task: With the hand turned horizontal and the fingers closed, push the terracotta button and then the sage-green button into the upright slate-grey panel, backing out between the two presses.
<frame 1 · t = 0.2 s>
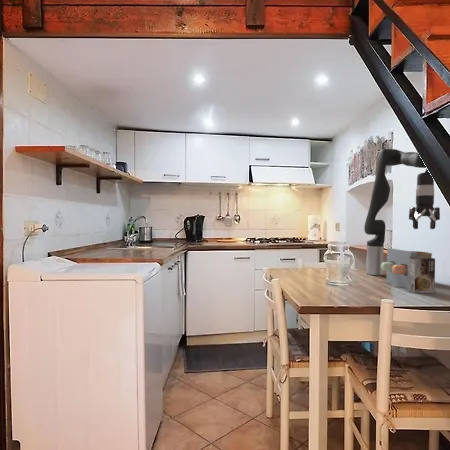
hand: (424, 229, 167), 29 cm above the table, tool pointing down, fingers open, 8 cm apart
terracotta button: (401, 269, 171), point 9 cm above the table, slide at 0.0 cm
plant pot: (415, 282, 189), on the table
button panel: (400, 285, 177), on the table
sage-green button: (389, 266, 181), point 9 cm above the table, slide at 0.0 cm
coffee box: (421, 292, 163), on the table
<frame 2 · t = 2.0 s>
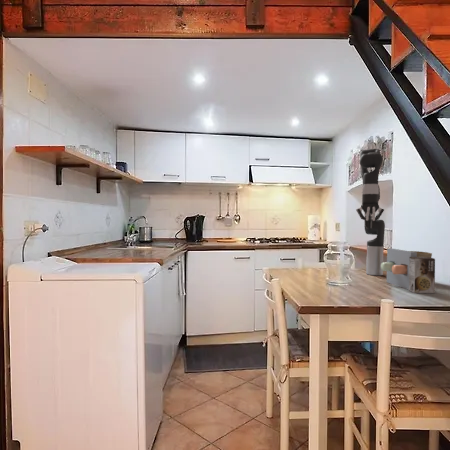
hand: (369, 228, 175), 29 cm above the table, tool pointing down, fingers closed
nothing on the table moved.
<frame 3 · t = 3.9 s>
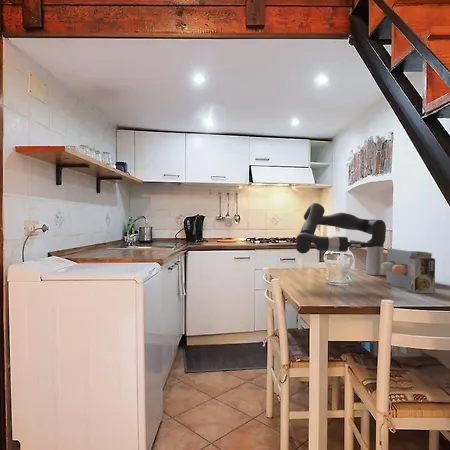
hand: (373, 245, 172), 21 cm above the table, tool horizontal, fingers closed
nothing on the table moved.
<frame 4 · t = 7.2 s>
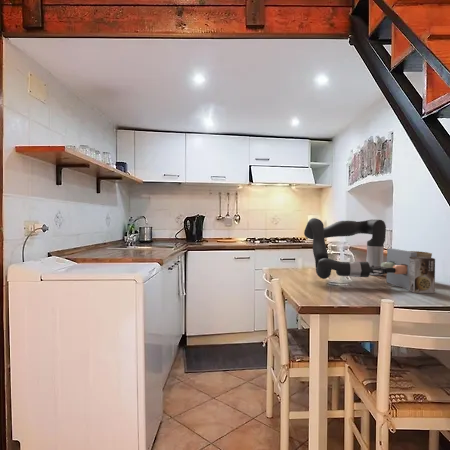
hand: (394, 270, 171), 9 cm above the table, tool horizontal, fingers closed
terracotta button: (402, 269, 171), point 9 cm above the table, slide at 0.5 cm, touching gripper
everything else where it was.
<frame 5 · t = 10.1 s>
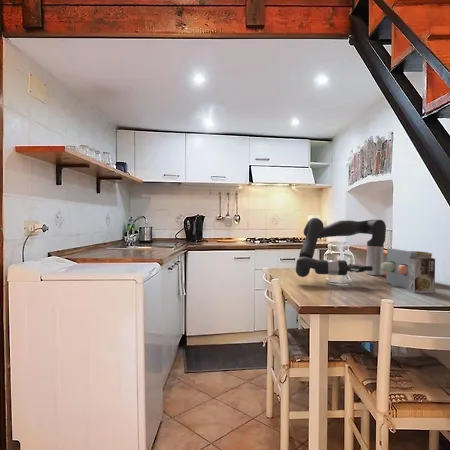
hand: (371, 268, 174), 9 cm above the table, tool horizontal, fingers closed
terracotta button: (407, 269, 172), point 9 cm above the table, slide at 3.1 cm
everything else where it was.
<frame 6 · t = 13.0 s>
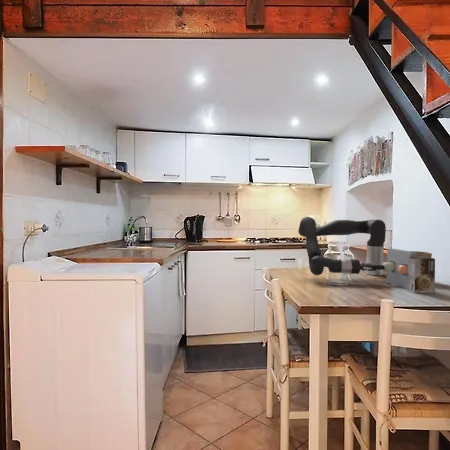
hand: (383, 267, 181), 9 cm above the table, tool horizontal, fingers closed
sage-green button: (390, 266, 181), point 9 cm above the table, slide at 0.6 cm, touching gripper
everything else where it was.
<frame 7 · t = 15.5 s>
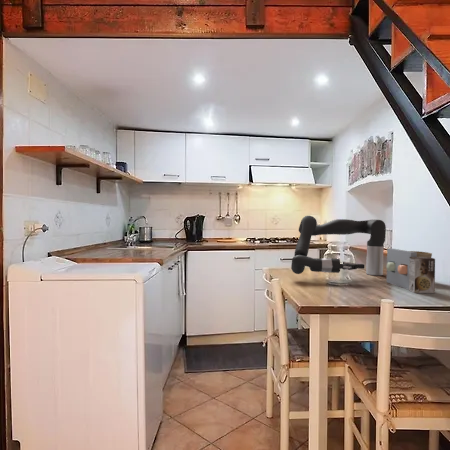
hand: (364, 266, 182), 9 cm above the table, tool horizontal, fingers closed
sage-green button: (395, 266, 182), point 9 cm above the table, slide at 3.1 cm
everything else where it was.
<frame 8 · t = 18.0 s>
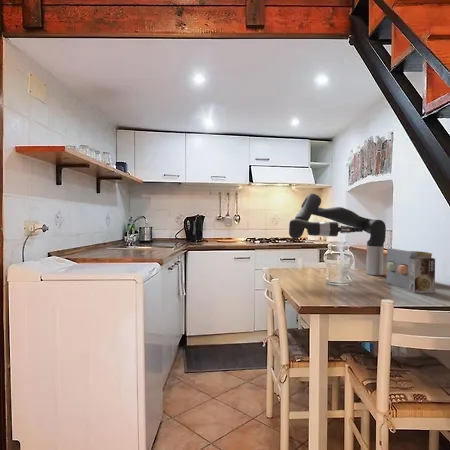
hand: (362, 229, 181), 28 cm above the table, tool horizontal, fingers closed
nothing on the table moved.
at the end: terracotta button slide at 3.1 cm; sage-green button slide at 3.1 cm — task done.
